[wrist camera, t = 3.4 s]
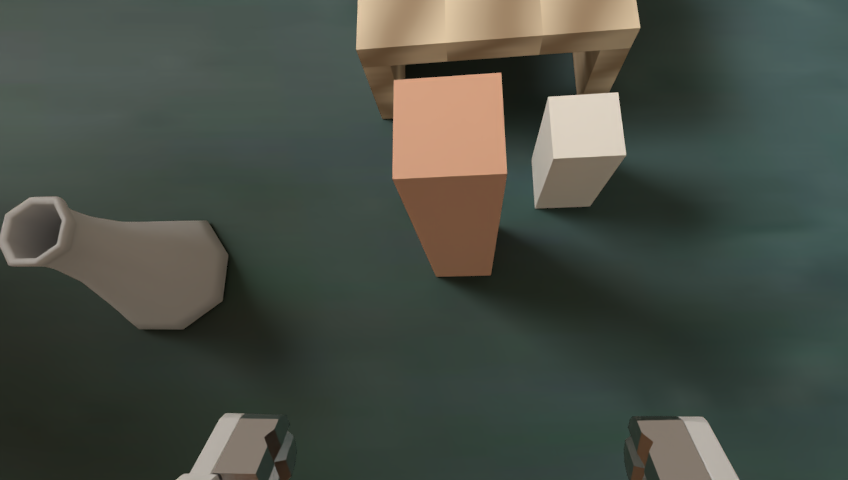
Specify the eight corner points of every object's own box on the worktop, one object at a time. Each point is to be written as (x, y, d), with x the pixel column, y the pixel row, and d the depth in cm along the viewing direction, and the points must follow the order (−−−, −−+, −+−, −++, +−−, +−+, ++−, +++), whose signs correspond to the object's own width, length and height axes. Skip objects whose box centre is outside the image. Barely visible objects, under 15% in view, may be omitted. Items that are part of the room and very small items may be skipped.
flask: (116, 240, 31) (-49, 183, 21) (220, 204, 30) (102, 130, 21) (130, 348, 29) (-45, 339, 19) (241, 310, 28) (121, 282, 19)
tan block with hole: (382, 118, 31) (356, 49, 24) (384, -7, 33) (361, -102, 27) (602, 105, 29) (640, 27, 23) (587, -25, 32) (616, -130, 25)
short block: (535, 208, 28) (553, 158, 21) (531, 159, 29) (548, 96, 22) (590, 206, 28) (626, 155, 21) (584, 156, 29) (618, 92, 22)
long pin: (436, 276, 28) (392, 179, 13) (435, 224, 28) (393, 80, 14) (490, 275, 27) (506, 173, 13) (488, 222, 28) (501, 72, 14)
